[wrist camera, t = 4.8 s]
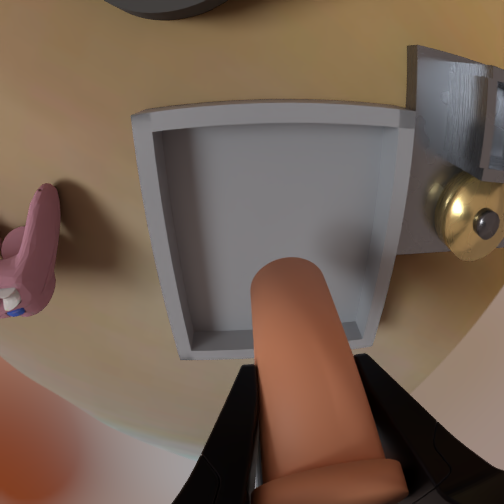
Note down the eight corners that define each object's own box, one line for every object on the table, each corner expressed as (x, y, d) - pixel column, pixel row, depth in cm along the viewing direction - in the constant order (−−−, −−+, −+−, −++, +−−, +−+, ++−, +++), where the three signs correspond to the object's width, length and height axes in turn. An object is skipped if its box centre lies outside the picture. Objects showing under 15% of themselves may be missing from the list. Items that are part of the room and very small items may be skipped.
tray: (362, 322, 20) (372, 346, 18) (184, 334, 20) (180, 360, 18) (393, 105, 13) (415, 111, 11) (145, 109, 13) (130, 115, 11)
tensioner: (495, 240, 17) (529, 272, 14) (389, 245, 17) (419, 287, 14) (522, 82, 12) (569, 94, 8) (407, 45, 12) (454, 43, 8)
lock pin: (327, 319, 14) (381, 514, 6) (245, 325, 14) (254, 534, 6) (336, 247, 12) (434, 474, 4) (240, 252, 12) (247, 510, 4)
